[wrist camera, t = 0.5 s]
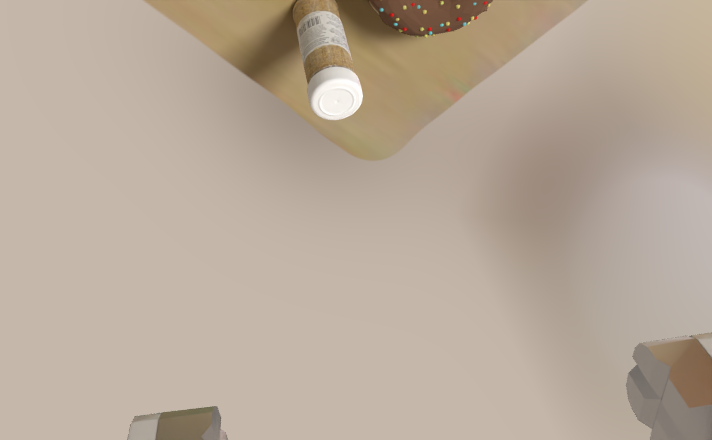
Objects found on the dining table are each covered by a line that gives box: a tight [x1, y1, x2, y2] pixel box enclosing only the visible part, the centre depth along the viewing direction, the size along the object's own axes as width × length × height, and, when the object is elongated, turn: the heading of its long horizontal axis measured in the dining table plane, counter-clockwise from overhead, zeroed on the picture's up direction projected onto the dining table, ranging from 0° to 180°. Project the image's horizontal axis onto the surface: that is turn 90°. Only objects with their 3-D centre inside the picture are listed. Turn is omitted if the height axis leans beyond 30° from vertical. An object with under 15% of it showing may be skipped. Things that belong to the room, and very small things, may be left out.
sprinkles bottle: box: [293, 0, 363, 120], centre depth 58 cm, size 5×5×14 cm
